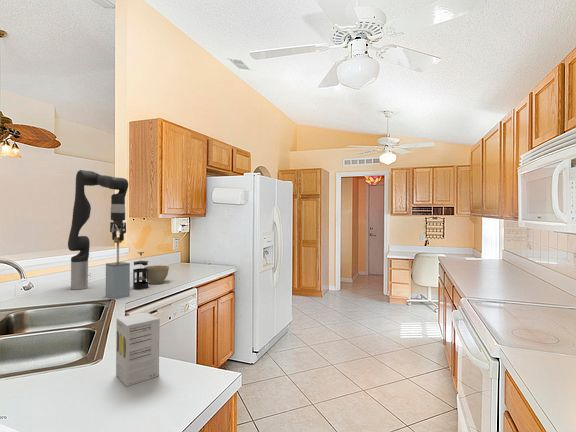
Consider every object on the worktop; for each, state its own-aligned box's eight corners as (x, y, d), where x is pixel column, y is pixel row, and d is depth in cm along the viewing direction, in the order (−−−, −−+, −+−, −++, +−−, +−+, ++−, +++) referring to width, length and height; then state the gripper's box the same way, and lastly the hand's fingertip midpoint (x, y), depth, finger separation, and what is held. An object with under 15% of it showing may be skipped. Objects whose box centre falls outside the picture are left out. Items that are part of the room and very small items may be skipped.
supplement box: (115, 375, 95) (115, 317, 95) (147, 365, 101) (147, 311, 101) (126, 387, 88) (126, 325, 88) (160, 375, 95) (160, 318, 95)
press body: (105, 296, 186) (105, 263, 186) (121, 293, 194) (122, 261, 194) (113, 299, 181) (113, 265, 181) (129, 296, 188) (129, 263, 188)
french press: (144, 289, 204) (145, 253, 204) (129, 289, 204) (129, 253, 204) (151, 285, 216) (152, 251, 216) (137, 285, 215) (137, 251, 215)
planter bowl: (148, 286, 214) (148, 269, 215) (140, 282, 227) (140, 266, 227) (172, 283, 225) (172, 267, 225) (164, 279, 237) (164, 264, 237)
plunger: (109, 279, 187) (110, 237, 187) (120, 277, 191) (120, 236, 191) (114, 280, 183) (115, 237, 183) (125, 279, 188) (125, 237, 188)
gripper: (105, 212, 188) (105, 240, 188) (117, 212, 180) (117, 241, 180) (118, 212, 194) (118, 239, 194) (130, 212, 186) (130, 240, 186)
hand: (117, 240), depth 187 cm, fingers open, 8 cm apart
